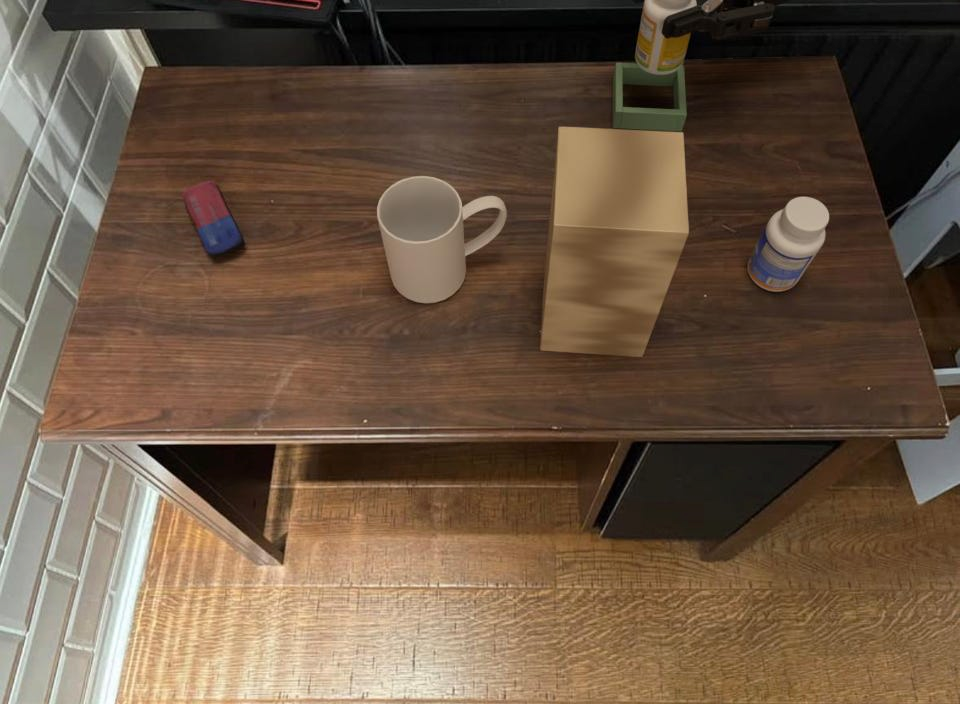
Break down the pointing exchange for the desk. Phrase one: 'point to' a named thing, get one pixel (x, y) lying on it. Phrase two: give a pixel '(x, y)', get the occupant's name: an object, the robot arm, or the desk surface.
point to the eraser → (213, 219)
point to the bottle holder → (648, 116)
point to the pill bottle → (788, 244)
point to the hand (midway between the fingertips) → (649, 10)
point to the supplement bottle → (660, 37)
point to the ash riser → (612, 238)
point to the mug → (430, 236)
